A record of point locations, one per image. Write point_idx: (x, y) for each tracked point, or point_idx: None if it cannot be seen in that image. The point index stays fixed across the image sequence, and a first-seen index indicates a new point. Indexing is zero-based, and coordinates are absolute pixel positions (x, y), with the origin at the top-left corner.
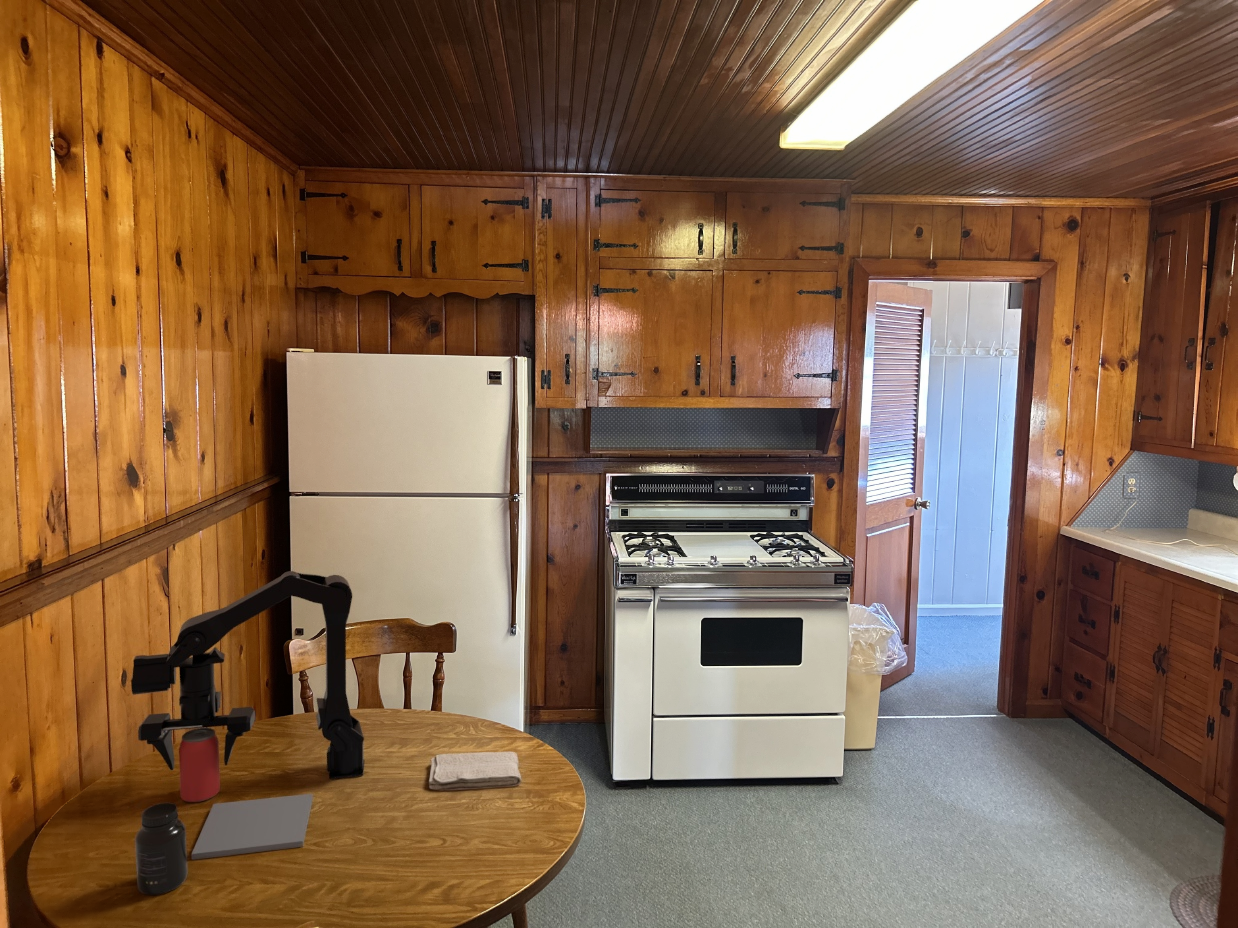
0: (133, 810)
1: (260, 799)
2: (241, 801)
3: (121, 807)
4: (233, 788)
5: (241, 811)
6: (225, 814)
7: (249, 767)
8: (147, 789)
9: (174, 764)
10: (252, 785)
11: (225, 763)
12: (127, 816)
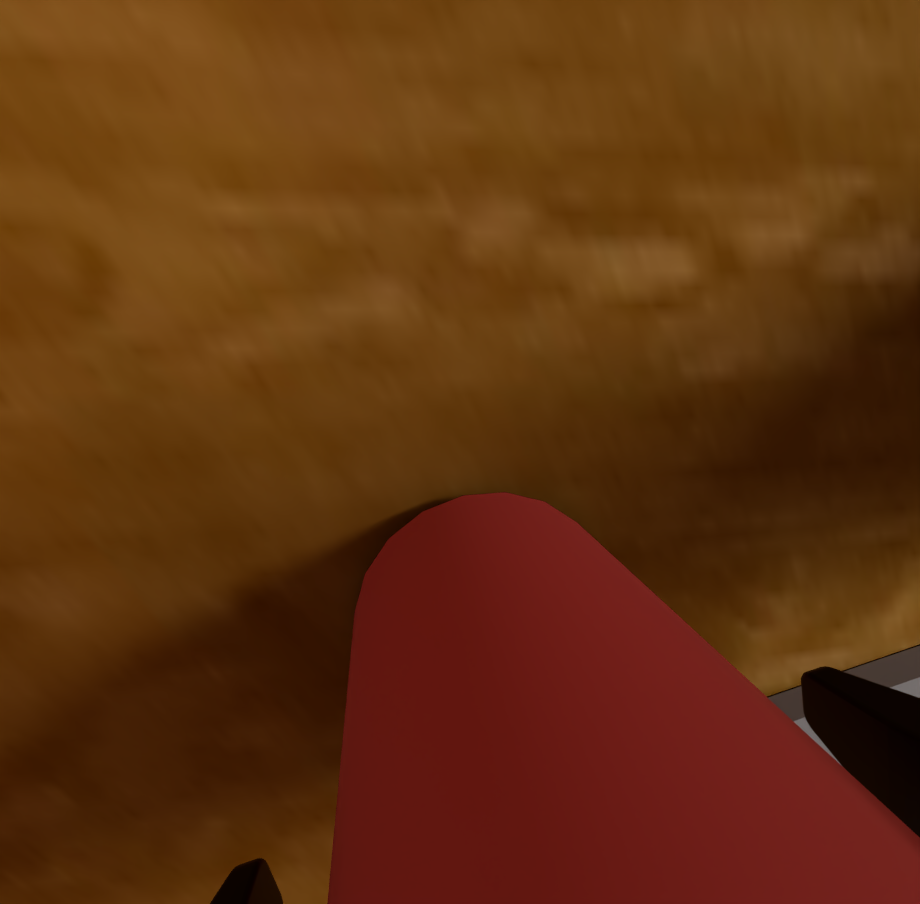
0: (136, 828)
1: (899, 689)
2: (802, 721)
3: (14, 813)
4: (665, 506)
5: None
6: None
7: (676, 163)
8: (13, 570)
9: (253, 895)
10: (773, 458)
11: (835, 746)
12: (150, 888)
